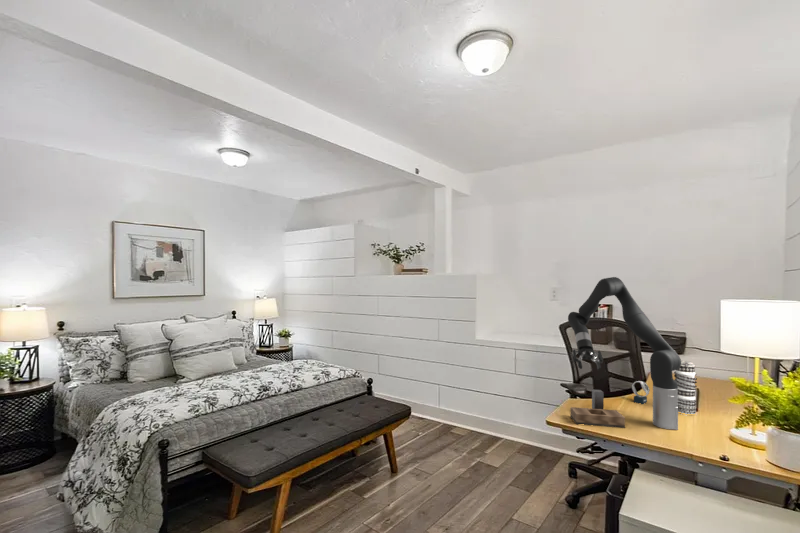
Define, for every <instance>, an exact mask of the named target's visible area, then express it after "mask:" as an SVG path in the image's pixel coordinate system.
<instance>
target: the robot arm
mask: <svg viewBox="0 0 800 533" xmlns="http://www.w3.org/2000/svg"><path fill="white" fill-rule="evenodd" d="M612 296H615V298H616V299H617V301H619V303H620V306H621V311H622V318H623V321H624V322H625V324H626V325H627V327H628V328H629V330H630V331H631V332H632V333H633V334H634V335H636V336H637V337H638V338H639V339H640V340H642V341H643V342H644V343H646V345H648V346H649V347H650V348H651V350H652V351H653V353H652V354H650V359H649V369H650V378H651V380H652V425H654V426H655V427H658V428H661V429H666V430H677V431H678V430H679V413H678V384H677V382H676V381H675V379H674V378H673V377H674V375H673V371H674V372H675V371H676V370H677V369H679V368H680V366H681V361H682V360H681V357H680V355H679V354H678V353H677V351H676V350H674V348H673V347H672V346H671V345H670V344H669V343H668V342H667V341H666V339H664V338H663V336H662V335H661V334H660V332H659V331H658V330H657V328H656V327H655V326H654V325H653V323H652V322H651V321H650V318H649V317H648V316H647V315H646V314H645V312H643V310H642V309H641V307H640V306H639V304H638V303H637V302H636V300H635V299H634V298H633V296H632V294H630V291H629V290H628V288H627V286H626V285H625V283H624V282H623V281H622V280H621V279H620V278H619V277H617V276H613V277H606V278H602V279H600V280H599V281H598V282H597V283H596V285H595V287H594V289H593V290H592V291H591V293H590V295H589V296H588V298H587V299H586V300H585V301H584V302H583V304H582V305H580V307H579V308H578V312H577V311H571V312H569V314H568V316H567V321H568V324H569V325H570V328H571V329H572V330H573V332H574V337H575V343H576V348H577V350H575V349H573V350H572V352H571V355H572V356H571V357H572V361H573V363H577V367H578V368H579V370H582V369H583V364H582V360H587V361H588V360H589V361H592V362H594V363H595V365H596V369H597V371H600V370H601V368H602V365H601V364H603V362H604V358H603V356H602V355H603V354H602V352H601V351H600V350H598V351H595V349H594V347H593V343H592V342H593V341H592V340H591V336H590V334H589V329H588V327H587V326H586V325H588V324H589V321H590V318H591V317H592V315H593V314H594V313H595V312H596V311H598V308H599V306H600V302H601V301H602V300H604V299H605V298H607V297H612ZM577 355H578V356H579V357H578V358H577Z"/></svg>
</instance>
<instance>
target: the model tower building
mask: <svg viewBox="0 0 800 533" xmlns="http://www.w3.org/2000/svg"><path fill="white" fill-rule="evenodd" d="M695 367H696V365H695V364H694V362H692V361H687V360H681V366H680V368H679V369H677V370H675V371H674V372H673V374H674V375H673V377H674V380H675V381H676V382H677V384H678V412H681V413H685V414H695V413H696V414H697V407H696V405H697V400H696V391H697V386H698V385H696V384H697V383H698V382H697V381H696V380H698V378H696V376H697V373H696V368H695Z"/></svg>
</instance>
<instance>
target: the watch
mask: <svg viewBox="0 0 800 533" xmlns="http://www.w3.org/2000/svg"><path fill="white" fill-rule="evenodd" d="M637 383H639V384H640V386H641V388H642V390H643V391H644V392H645V395H641V394H638V391H637V389H636V387H635V385H636V384H637ZM648 385H649V384H647V383H646V382H645V381H642V380H638V381H637V380H636V381H634V382H633V383H632V385H631V390H632V393H634V395H633V403H635V402H636V404H639V403H641V404H640V405H645V404H647V403H646V402H648V395H649V394H650V387H649V386H648ZM644 403H645V404H644Z"/></svg>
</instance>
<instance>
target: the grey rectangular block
mask: <svg viewBox="0 0 800 533" xmlns="http://www.w3.org/2000/svg"><path fill="white" fill-rule="evenodd" d="M604 393H605V392H604V391H602V390H601V389H591V409H604V399H605V398H604Z"/></svg>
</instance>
